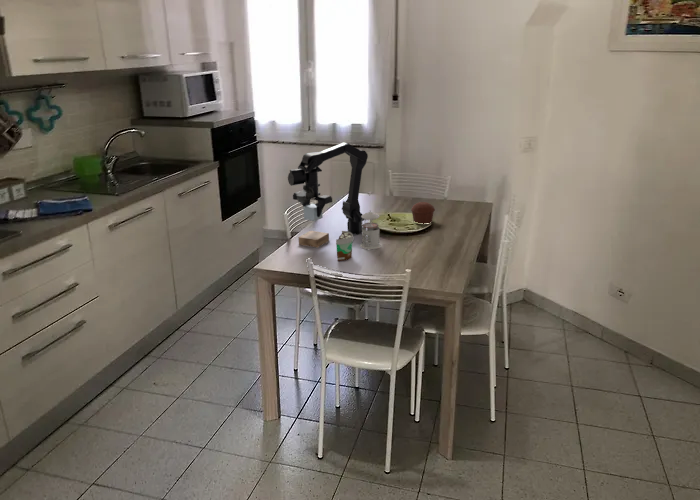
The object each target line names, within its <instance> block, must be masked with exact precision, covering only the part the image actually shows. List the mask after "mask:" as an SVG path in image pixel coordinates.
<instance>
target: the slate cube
mask: <svg viewBox="0 0 700 500" xmlns="http://www.w3.org/2000/svg"><path fill="white" fill-rule="evenodd" d="M315 204H316V203H310V204H309V205H306V206H303V205H302V207H303V210H302V211H303V220H307V221H310V222H315V221H318V220H321V219H323V211H322V212H321V215H320V217H318V216H317V206H316V205H315Z"/></svg>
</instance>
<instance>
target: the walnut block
mask: <svg viewBox="0 0 700 500" xmlns="http://www.w3.org/2000/svg"><path fill="white" fill-rule="evenodd" d="M328 242H330V235H329V232H321V231H315V230H309V231H307V232H306V233H303V234H302V235H299V236H298V245H299V246H304V247H305V246H306V247H310V248H311V247H312V248H319V247H321V246H323V245H324V244H326V243H328Z"/></svg>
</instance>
